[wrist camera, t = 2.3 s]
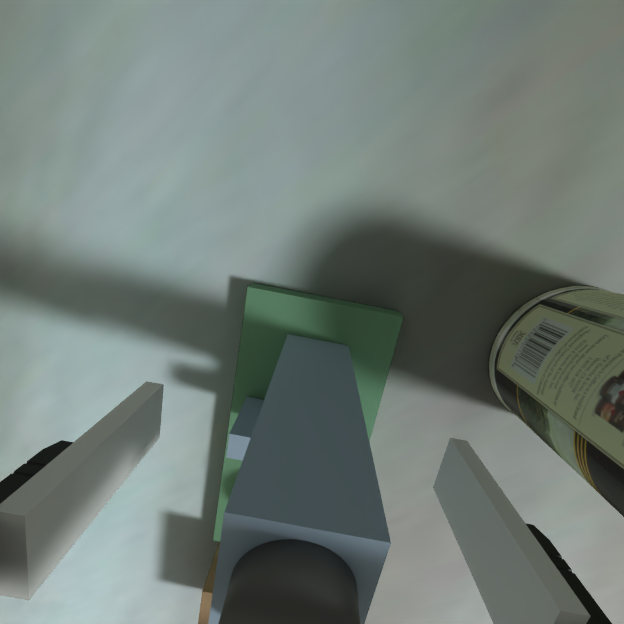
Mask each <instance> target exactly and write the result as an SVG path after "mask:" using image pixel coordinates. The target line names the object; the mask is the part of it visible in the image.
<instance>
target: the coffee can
mask: <svg viewBox="0 0 624 624" xmlns="http://www.w3.org/2000/svg"><path fill="white" fill-rule="evenodd" d="M489 375H490V380H491V384H492V387H493V389H494V392H495V393H496V395H497V397H498V398H499V400H500V401H501V402H502V404H503V405H504V406H505V407H506V408H507V409H508V410H510V411H511V412H512V413H514V414H515V415H517V416H518V417H519V418H520V419H521V420H522V421H523V422H524V423H525V424H526V425H527V426H528V427H529V428H530V429H532V430H533V431H534V432H535V433H536V434H537V435H538V436H539V437H540V438H541V439H542V440H543V441H544V442H545V443H546V444H547V445H548V446H550V447H551V448H552V449H553V450H554V451H555V452H556V453H557V454H558V455H559V456H560V457H561V458H562V459H563V460H564V461H565V462H567V463H568V464H569V465H570V466H571V467H572V468H573V469H574V470H575V471H576V472H577V473H578V474H579V475H580V476H581V477H583V478H584V479H585V480H586V481H587V482H588V483H589V484H590V485H591V486H592V487H593V488H594V489H595V490H596V491H597V492H598V493H599V494H600V495H601V496H602V497H604V498H605V499H606V500H607V501H608V502H609V503H610V504H611V505H612V506H613V507H614V508H615V509H616V510H617V511H618V512H619V513H620V514H621V515H622V516H623V517H624V295H623V294H618V293H614V292H610V291H608V290H605V289H601V288H596V287H589V286H571V287H565V288H560V289H556V290H552V291H549V292H547V293H544V294H542V295H540V296H538V297H535V298H534V299H532V300H530V301H529V302H527V303H526V304H524V305H523V306H522V307H520V308H519V309H518V310H516V312H515V313H514V314H513V315H512V316H511V317H510V318H509V319H508V321H507V322H506V323H505V324H504V325H503V327H502V328H501V330H500V332H499V333H498V335H497V337H496V339H495V341H494V344H493V346H492V350H491V354H490V359H489Z"/></svg>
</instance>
